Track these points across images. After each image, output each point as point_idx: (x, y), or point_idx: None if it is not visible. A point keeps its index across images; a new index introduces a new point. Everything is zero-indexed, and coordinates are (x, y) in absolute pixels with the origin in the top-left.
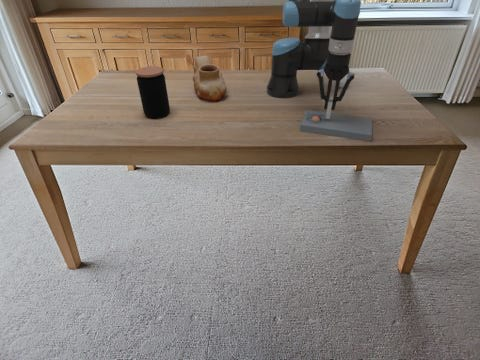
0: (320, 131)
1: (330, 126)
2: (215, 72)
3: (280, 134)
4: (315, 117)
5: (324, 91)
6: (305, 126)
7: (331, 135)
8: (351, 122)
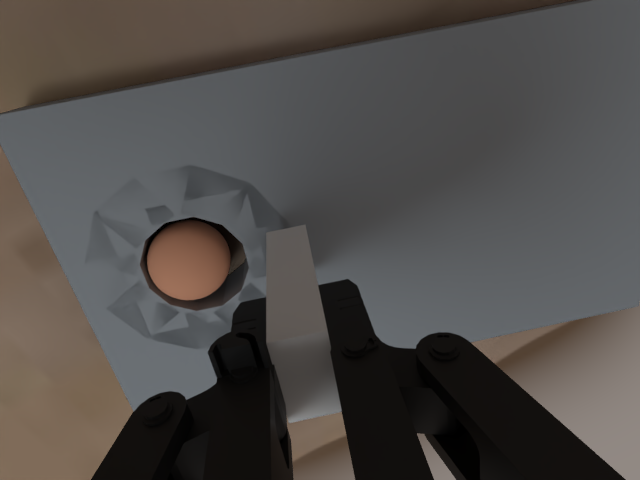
0: None
1: None
2: None
3: (70, 463)
4: (185, 291)
5: (153, 476)
6: None
7: None
8: (498, 184)
